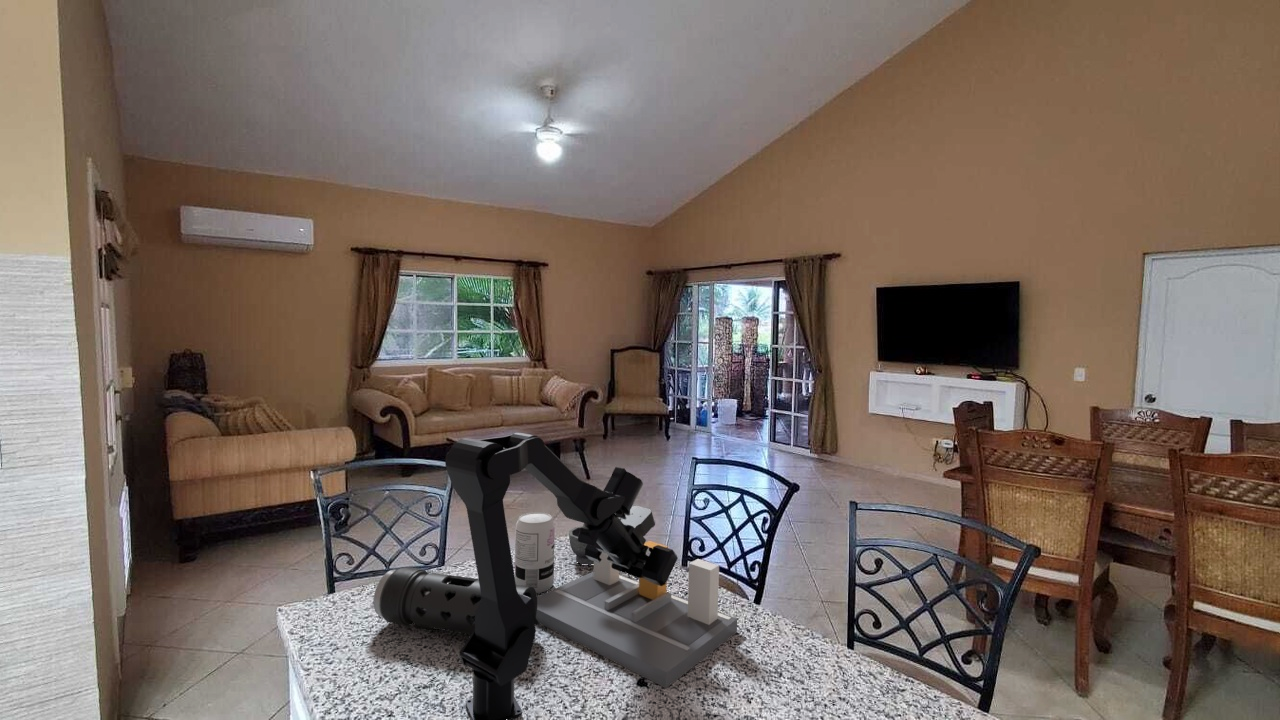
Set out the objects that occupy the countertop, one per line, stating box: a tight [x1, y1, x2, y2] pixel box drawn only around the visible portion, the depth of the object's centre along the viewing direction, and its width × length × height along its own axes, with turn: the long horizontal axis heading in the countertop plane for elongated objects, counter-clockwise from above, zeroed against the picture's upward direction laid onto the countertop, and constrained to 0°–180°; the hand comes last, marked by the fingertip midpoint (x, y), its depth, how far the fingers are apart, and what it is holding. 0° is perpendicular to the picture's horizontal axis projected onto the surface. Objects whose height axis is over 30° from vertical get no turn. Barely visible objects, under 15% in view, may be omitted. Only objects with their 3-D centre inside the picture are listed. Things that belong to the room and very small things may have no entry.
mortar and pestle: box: [568, 525, 594, 566], centre depth 134 cm, size 11×9×12 cm
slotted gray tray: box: [536, 552, 738, 689], centre depth 105 cm, size 22×34×12 cm, turn 51°
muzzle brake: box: [372, 566, 538, 636], centre depth 100 cm, size 10×28×10 cm, turn 76°
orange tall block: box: [638, 540, 669, 600], centre depth 110 cm, size 3×5×10 cm, turn 51°
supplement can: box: [514, 512, 556, 595], centre depth 119 cm, size 8×8×15 cm
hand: (647, 575), depth 109 cm, fingers closed, pressing on orange tall block
